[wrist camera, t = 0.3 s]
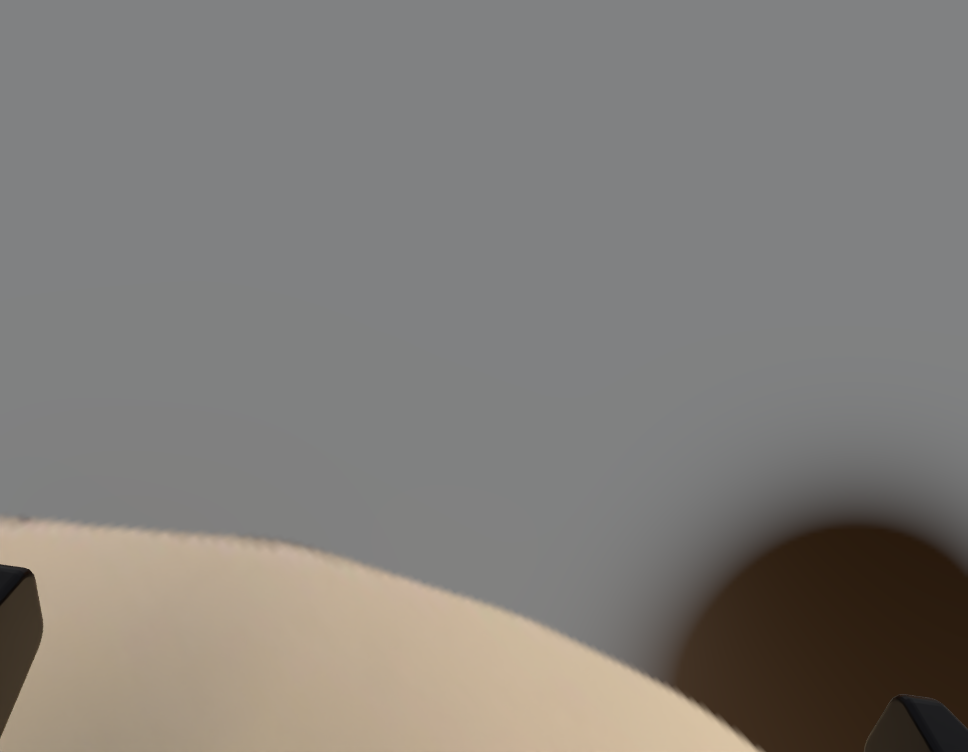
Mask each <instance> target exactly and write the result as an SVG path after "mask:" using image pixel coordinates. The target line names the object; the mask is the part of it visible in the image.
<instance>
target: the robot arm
mask: <svg viewBox="0 0 968 752" xmlns="http://www.w3.org/2000/svg"><path fill="white" fill-rule="evenodd" d="M42 633H43V618H42V613H41V607H40V602H39V596H38V591H37V585H36V580H35V577H34V574H33V573H32V572H31V571H30V570H29V569H26V568H22V567H15V566H8V565H1V564H0V738H1V736H2V733H3V731H4V728H5V726H6V724H7V721H8V719H9V717H10V714H11V712H12V709H13V707H14V705H15V702H16V700H17V698H18V695H19V693H20V691H21V688H22V686H23V683H24V681H25V679H26V676H27V674H28V672H29V669H30V667H31V664H32V662H33V660H34V657H35V655H36V653H37V650H38V648H39V645H40V642H41V638H42ZM864 752H968V729H967V728H966V727H965V726H964V725H963V724H962V723H961V722H960V721H959V720H958V719H957V718H956V717H955V716H954V715H953V714H952V713H951V712H950V711H949V710H948V709H947V708H946V707H945V706H944V705H943V704H942V703H940V702H939V701H937V700H934V699H931V698H925V697H919V696H912V695H905V694H903V695H898V696H896V697H894V698H893V699H892V700H891V701H890V703H889V704H888V706H887V708H886V709H885V711H884V713H883V714H882V716H881V717H880V719H879V721H878V722H877V724H876V726H875V727H874V729H873V730H872V732H871V734H870V735H869V737H868V739H867V741H866V744H865V749H864Z"/></svg>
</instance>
